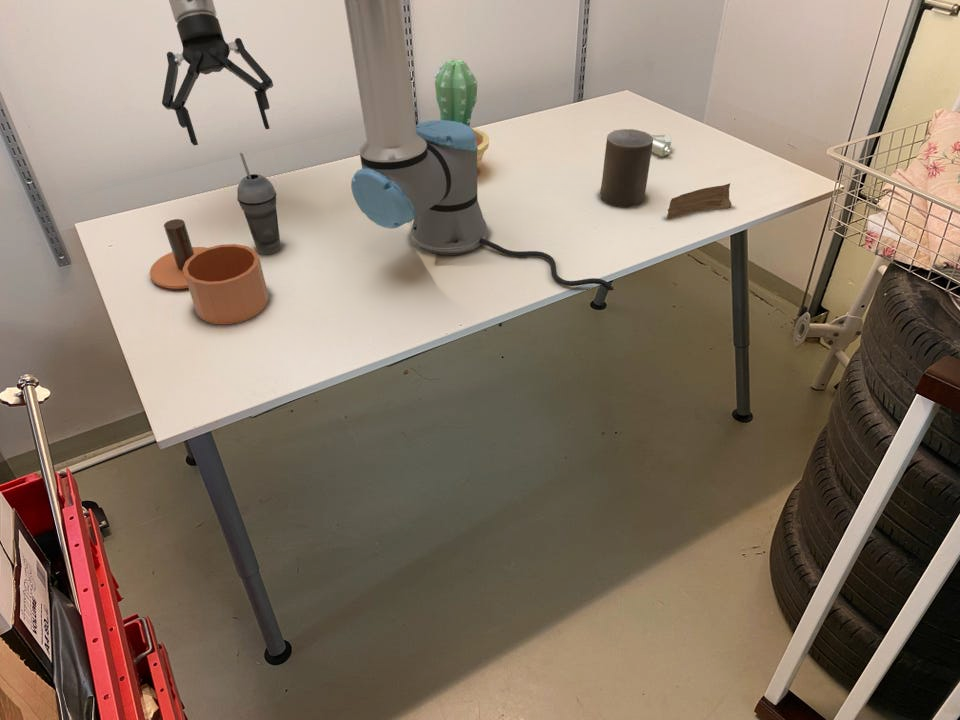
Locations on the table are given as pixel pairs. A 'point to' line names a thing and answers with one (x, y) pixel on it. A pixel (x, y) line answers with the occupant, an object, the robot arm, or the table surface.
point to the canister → (226, 283)
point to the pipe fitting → (661, 144)
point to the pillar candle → (626, 167)
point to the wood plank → (700, 201)
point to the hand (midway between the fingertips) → (231, 135)
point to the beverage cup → (260, 210)
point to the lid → (174, 257)
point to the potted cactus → (459, 98)
